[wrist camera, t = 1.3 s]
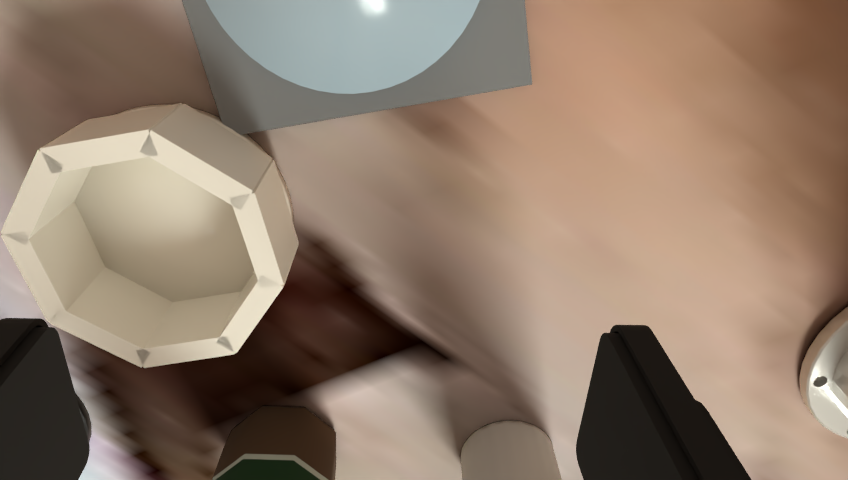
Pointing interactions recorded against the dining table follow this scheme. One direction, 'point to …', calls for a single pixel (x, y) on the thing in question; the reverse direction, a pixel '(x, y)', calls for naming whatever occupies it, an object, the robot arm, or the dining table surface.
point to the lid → (344, 38)
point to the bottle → (509, 453)
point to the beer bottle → (279, 447)
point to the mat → (293, 104)
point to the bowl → (154, 234)
